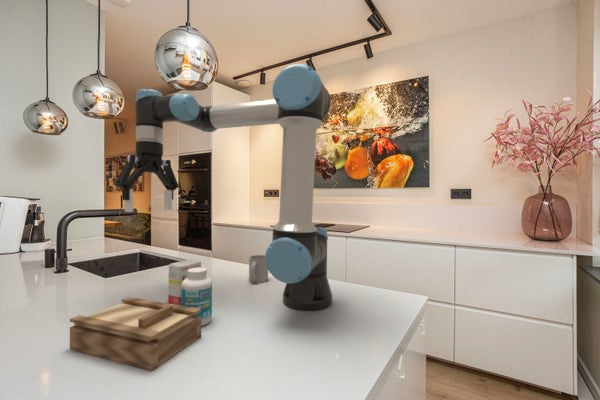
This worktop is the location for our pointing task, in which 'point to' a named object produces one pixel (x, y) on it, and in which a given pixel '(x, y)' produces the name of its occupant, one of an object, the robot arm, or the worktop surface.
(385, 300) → the worktop surface
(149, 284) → the worktop surface
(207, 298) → the pill bottle
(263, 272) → the cup
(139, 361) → the box
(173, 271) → the ink box
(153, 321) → the lid
